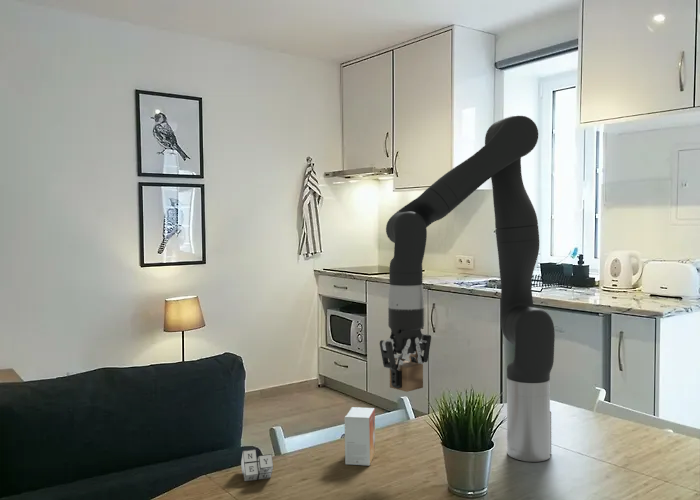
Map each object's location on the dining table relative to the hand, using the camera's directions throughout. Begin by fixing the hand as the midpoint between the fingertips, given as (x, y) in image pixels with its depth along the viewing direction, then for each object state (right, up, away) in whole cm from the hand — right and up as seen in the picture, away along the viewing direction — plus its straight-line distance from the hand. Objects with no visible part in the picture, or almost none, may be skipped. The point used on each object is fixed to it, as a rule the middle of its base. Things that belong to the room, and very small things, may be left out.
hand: (406, 385), depth 129 cm
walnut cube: (0, 0, 0) cm, 0 cm away
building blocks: (-31, -18, -4) cm, 36 cm away
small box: (-10, -18, +5) cm, 21 cm away
